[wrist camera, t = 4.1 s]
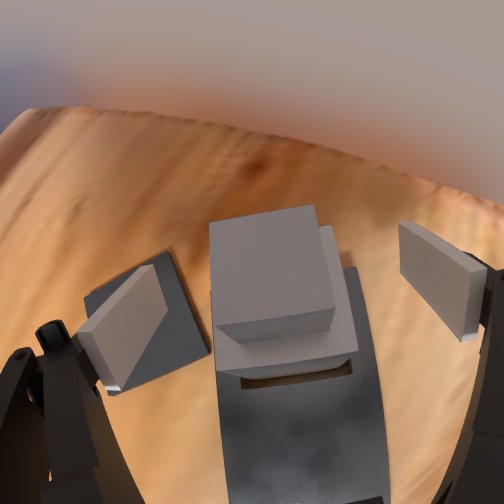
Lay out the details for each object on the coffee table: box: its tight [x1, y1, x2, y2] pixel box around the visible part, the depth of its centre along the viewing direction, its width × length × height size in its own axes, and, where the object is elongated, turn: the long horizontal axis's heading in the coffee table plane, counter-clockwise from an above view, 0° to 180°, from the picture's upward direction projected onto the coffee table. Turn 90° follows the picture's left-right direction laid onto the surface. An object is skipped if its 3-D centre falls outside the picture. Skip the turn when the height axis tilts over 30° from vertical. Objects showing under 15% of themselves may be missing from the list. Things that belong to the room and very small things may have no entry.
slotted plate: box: [210, 267, 391, 504], centre depth 15 cm, size 16×9×1 cm, turn 5°
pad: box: [84, 251, 211, 396], centre depth 20 cm, size 8×8×1 cm
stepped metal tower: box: [209, 204, 359, 380], centre depth 13 cm, size 5×5×11 cm
